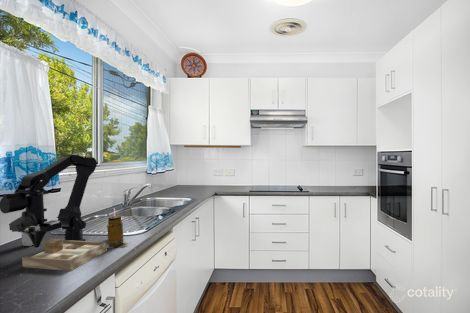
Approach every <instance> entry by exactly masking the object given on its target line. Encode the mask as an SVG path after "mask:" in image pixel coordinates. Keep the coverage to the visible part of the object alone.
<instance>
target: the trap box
mask: <svg viewBox="0 0 470 313" xmlns="http://www.w3.org/2000/svg"><path fill="white" fill-rule="evenodd" d="M62 244H63V250H60V251H58V252H56V253H45V250H44V251H41V252H39V253H37V254H35V255H30V256H23V257H22V258H21V263H22V268H27V269H41V270H54V271H55V270H56V271H68V272H71V271H73V270H74V269H77V268H78V267H81V265H83V264H86V263H87V262H89V261H91V260H93V259H94V258H96V257H98V256H100V255H102V254H104V253H106V252H107V250H108V248H107V245H108V242H107V241H90V240H89V241H88V240H85V241H72V240H65V239H64V240H62Z"/></svg>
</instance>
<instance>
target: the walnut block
mask: <svg viewBox="0 0 470 313" xmlns="http://www.w3.org/2000/svg"><path fill="white" fill-rule="evenodd" d="M43 244H44V251H45V253H56V252H58V251H60V250H63V239H62V238H52V239H49V240H46V241H44V243H43Z"/></svg>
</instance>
